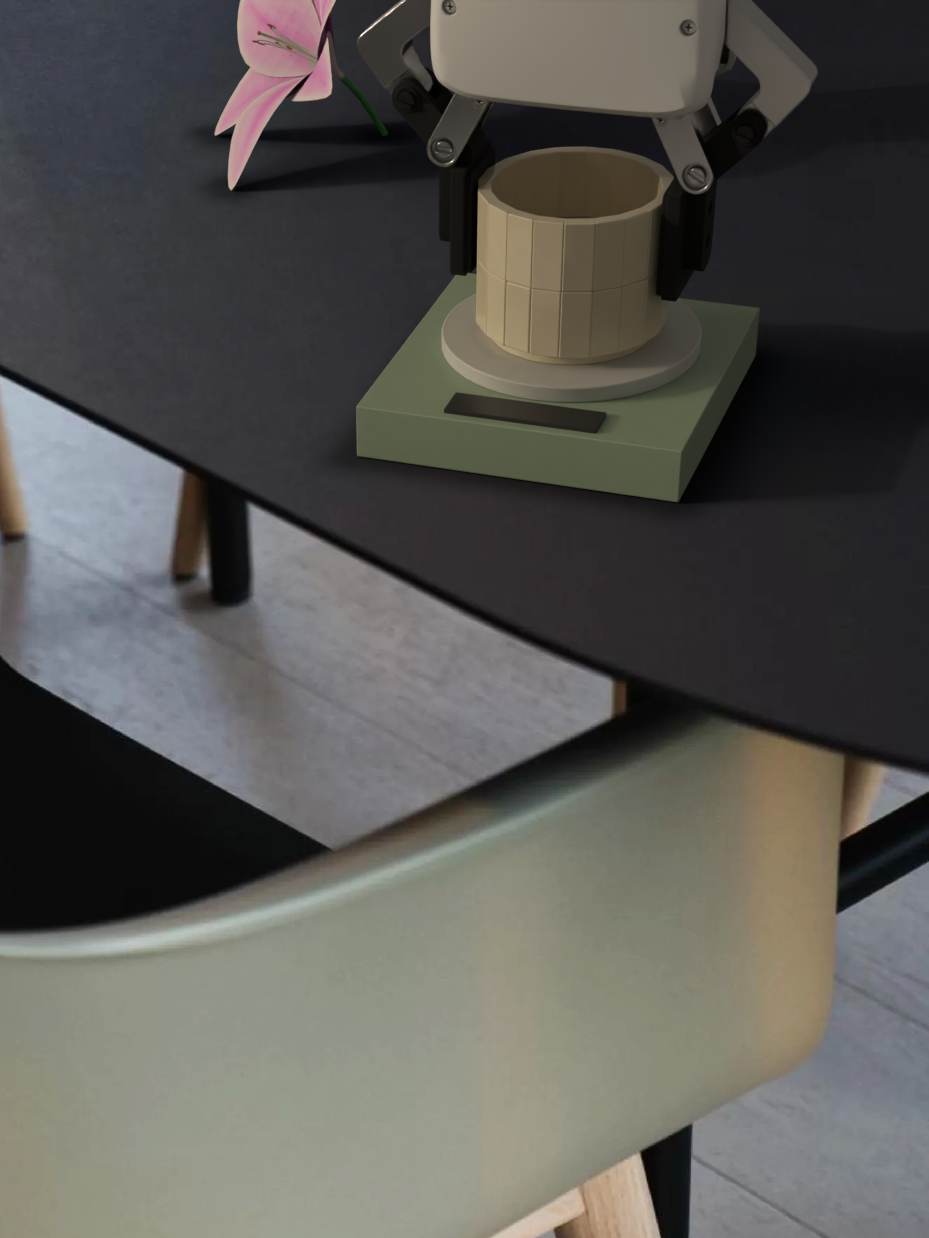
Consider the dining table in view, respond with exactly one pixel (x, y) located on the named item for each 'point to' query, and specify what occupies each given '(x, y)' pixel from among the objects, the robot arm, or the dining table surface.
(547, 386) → the scale
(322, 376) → the dining table surface
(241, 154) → the lily
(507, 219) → the tan faceted cup
